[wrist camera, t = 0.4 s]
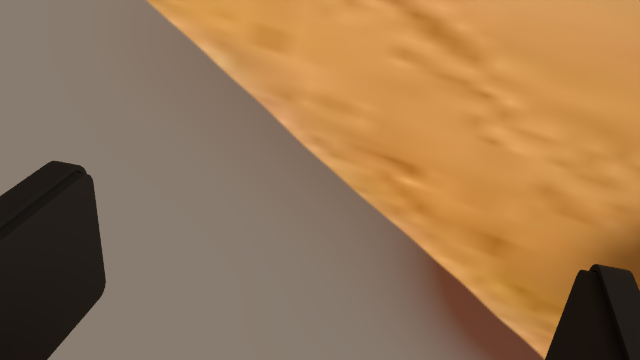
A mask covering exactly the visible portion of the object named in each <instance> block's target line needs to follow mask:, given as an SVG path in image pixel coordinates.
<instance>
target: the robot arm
mask: <svg viewBox="0 0 640 360" xmlns="http://www.w3.org/2000/svg"><path fill="white" fill-rule="evenodd" d="M105 283H106V280H105V271H104V263H103V255H102V247H101V239H100V232H99V224H98V216H97V208H96V200H95V192H94V184H93V179H92V177H91V176H90V175H88V174H87V173H86V171H85V169H84V168H83V167H82V166H80V165H74V164H69V163H64V162H59V161H51V162H49V163H47V164H46V165H44V166H43V167H42V168H40V169H39V170H37V171H36V172H34V173H33V174H32V175H30V176H29V177H27V178H26V179H24V180H23V181H21V182H20V183H19V184H17V185H16V186H14V187H13V188H12V189H10V190H9V191H7V192H6V193H4V194H3V195H1V196H0V360H47V359H48V358H49V357H50V356H51V354H52V353H53V352H54V351H55V350H56V349H57V347H58V346H59V345H60V344H61V343H62V341H63V340H64V339H65V338H66V337H67V336H68V335H69V333H70V332H71V331H72V330H73V329H74V328H75V326H76V325H77V324H78V323H79V322H80V321H81V319H82V318H83V317H84V316H85V315H86V314H87V313H88V311H89V310H90V309H91V308H92V307H93V306H94V304H95V303H96V302H97V301H98V300H99V298H100V297H101V296H102V294H103V292H104V288H105ZM545 360H640V291H639V289H638V286H637V284H636V281H635V279H634V276H633V274H632V273H631V271H629V270H624V269H619V268H614V267H609V266H603V265H598V264H595V265H593V266H592V267H591V268H590V270H589V271H586V270H580V271H579V272H578V274H577V276H576V279H575V281H574V284H573V287H572V289H571V292H570V295H569V297H568V300H567V303H566V305H565V308H564V311H563V313H562V316H561V318H560V321H559V324H558V326H557V329H556V332H555V334H554V337H553V340H552V342H551V345H550V348H549V350H548V353H547V356H546V358H545Z"/></svg>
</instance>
